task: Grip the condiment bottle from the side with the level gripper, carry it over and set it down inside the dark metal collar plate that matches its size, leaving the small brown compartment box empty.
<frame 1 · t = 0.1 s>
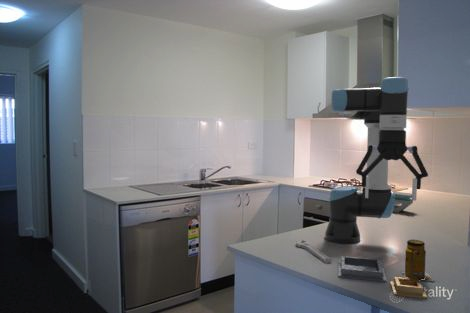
hand: (389, 198, 116), 28 cm above the counter, tool pointing down, fingers open, 13 cm apart
condiment: (417, 277, 125), on the counter
small brown compartment box: (407, 290, 115), on the counter
large collar: (360, 271, 130), on the counter
adjustable wrench: (311, 253, 151), on the counter
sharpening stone: (390, 210, 227), on the counter
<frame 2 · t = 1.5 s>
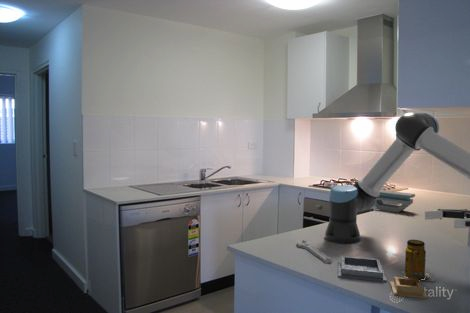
hand: (439, 219, 126), 19 cm above the counter, tool horizontal, fingers open, 13 cm apart
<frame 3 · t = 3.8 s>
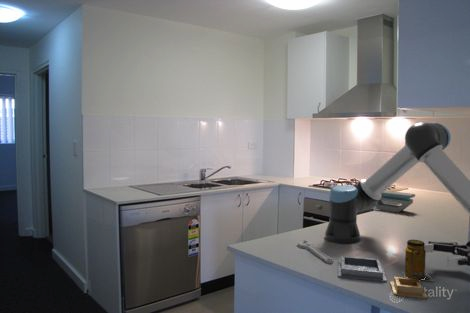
hand: (431, 255, 126), 7 cm above the counter, tool horizontal, fingers open, 13 cm apart
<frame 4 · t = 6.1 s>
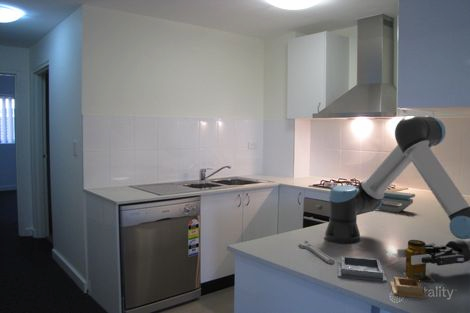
hand: (404, 256, 124), 7 cm above the counter, tool horizontal, fingers closed on condiment, 6 cm apart
condiment: (418, 277, 125), on the counter, touching gripper
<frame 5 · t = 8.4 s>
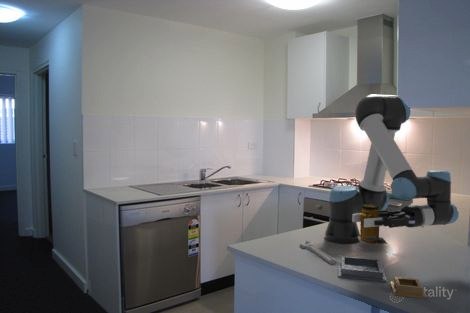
hand: (358, 220, 126), 19 cm above the counter, tool horizontal, fingers closed on condiment, 6 cm apart
condiment: (372, 241, 127), point 11 cm above the counter, touching gripper
when the fingers open (9 cm above the counter, at t = 10.8 s): condiment drops 1 cm, resting on large collar.
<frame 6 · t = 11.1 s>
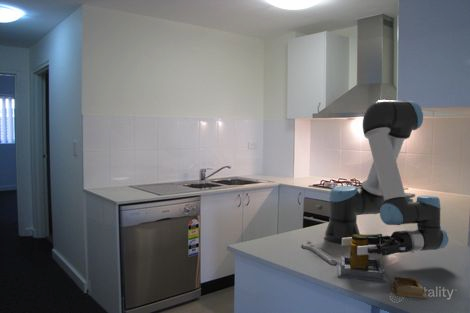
hand: (349, 246, 129), 9 cm above the counter, tool horizontal, fingers open, 9 cm apart
condiment: (361, 270, 130), resting on large collar
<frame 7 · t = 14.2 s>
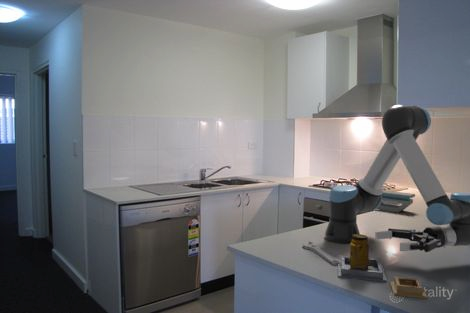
hand: (387, 241, 132), 10 cm above the counter, tool horizontal, fingers open, 13 cm apart
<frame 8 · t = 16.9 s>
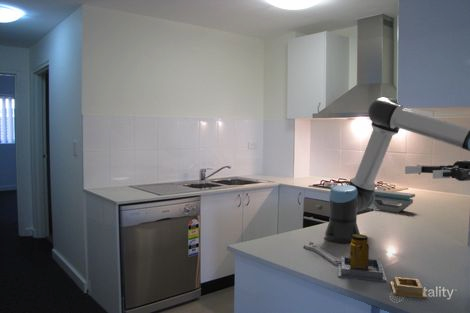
hand: (418, 172, 133), 34 cm above the counter, tool horizontal, fingers open, 13 cm apart
at the end: condiment 0.5 cm off-centre on the large collar, point 0.4 cm above the large collar's base; condiment tilted 0°; the gripper is holding nothing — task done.
